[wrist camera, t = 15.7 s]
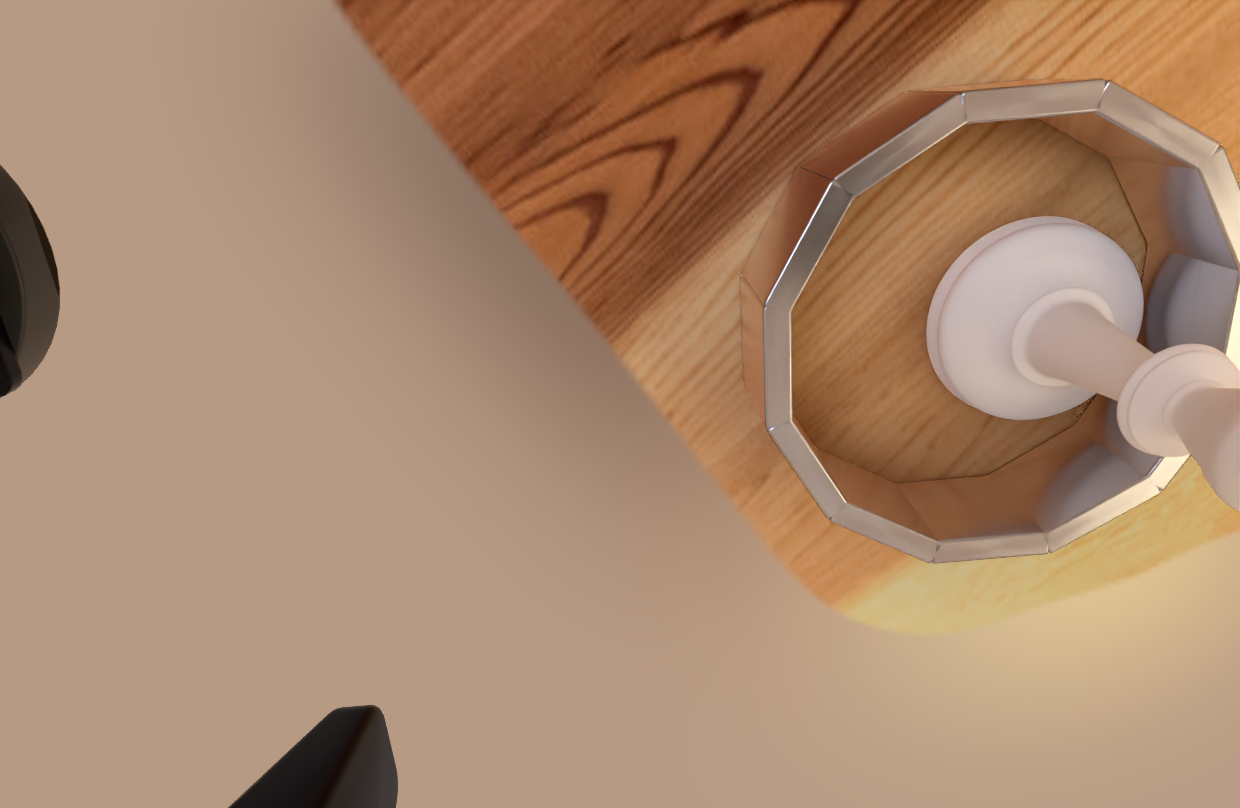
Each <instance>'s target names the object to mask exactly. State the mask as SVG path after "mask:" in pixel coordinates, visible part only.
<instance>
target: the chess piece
mask: <svg viewBox="0 0 1240 808" xmlns="http://www.w3.org/2000/svg"><path fill="white" fill-rule="evenodd" d="M1143 305H1144V301H1143V290H1142V285H1141V281H1140V278H1139V275H1138V272H1137V270H1136V268H1135V266H1134V264H1133V262H1132V260H1131V259H1130V257H1129V256H1128V255H1127V253H1126V252H1125V251H1124V250H1123V249H1122V248H1121V247H1120V246H1119V245H1118V244H1117V243H1116V242H1115V241H1113V240H1112V239H1111V238H1109V237H1108V236H1106V235H1104V234H1103V233H1101V232H1099V231H1098V230H1096V229H1095V228H1093V227H1091V226H1089V225H1087V224H1085V223H1082V222H1080V221H1077V220H1073V219H1069V218H1065V217H1056V216H1039V217H1031V218H1026V219H1021V220H1018V221H1014V222H1011V223H1008V224H1006V225H1003V226H1001V227H999V228H997V229H995V230H993V231H991V232H989V233H988V234H986V235H984V236H983V237H981V238H980V239H978V240H977V241H976V242H974V243H973V244H972V245H971V246H969V247H968V248H967V249H966V250H965V251H964V252H963V253H962V254H961V255H960V256H959V257H958V258H957V259H956V260H955V261H954V263H953V264H952V265H951V266H950V268H949V269H948V270H947V272H946V273H945V275H944V276H943V278H942V280H941V281H940V283H939V285H938V287H937V289H936V291H935V294H934V296H933V299H932V302H931V305H930V309H929V313H928V318H927V326H926V340H927V348H928V353H929V357H930V361H931V363H932V366H933V368H934V370H935V372H936V374H937V376H938V377H939V379H940V380H941V382H942V383H943V384H944V386H945V387H946V388H947V389H948V390H949V391H950V392H951V393H952V394H953V395H954V396H956V397H957V398H958V399H960V400H961V401H963V402H964V403H966V404H968V405H970V406H972V407H974V408H977V409H978V410H980V411H982V412H985V413H987V414H990V415H993V416H996V417H1000V418H1005V419H1012V420H1033V419H1040V418H1045V417H1049V416H1053V415H1056V414H1059V413H1062V412H1065V411H1067V410H1069V409H1072V408H1074V407H1076V406H1078V405H1079V404H1081V403H1083V402H1085V401H1086V400H1088V399H1089V398H1091V397H1092V396H1093V395H1095V394H1096V393H1098V394H1101V395H1103V396H1106V397H1109V398H1111V399H1113V400H1116V401H1118V404H1117V422H1118V425H1119V428H1120V431H1121V433H1122V435H1123V436H1124V438H1125V439H1126V440H1127V441H1128V442H1129V443H1130V444H1131V445H1132V446H1133V447H1135V448H1136V449H1138V450H1140V451H1142V452H1145V453H1148V454H1152V455H1158V456H1162V457H1181V456H1186V455H1190V454H1191V456H1192V457H1193V458H1194V459H1195V460H1196V461H1197V463H1198V464H1199V466H1200V468H1201V470H1202V472H1203V475H1204V477H1205V478H1206V480H1207V481H1208V483H1209V484H1210V486H1211V487H1212V489H1213V490H1214V491H1215V493H1216V494H1217V495H1218V496H1219V497H1220V498H1221V499H1222V500H1223V501H1224V502H1225V503H1226V504H1227V505H1229V506H1230V507H1232V508H1233V509H1235V510H1237V511H1240V372H1239V370H1238V368H1237V367H1236V366H1235V365H1234V363H1232V362H1231V360H1230V359H1229V358H1228V357H1227V356H1226V355H1225V354H1224V353H1222V352H1221V351H1219V350H1218V349H1216V348H1213V347H1211V346H1207V345H1203V344H1181V345H1176V346H1173V347H1170V348H1167V349H1164V350H1162V351H1160V352H1158V353H1156V354H1154V353H1152V352H1151V351H1149V350H1148V349H1146V348H1145V347H1144V346H1142V345H1141V344H1140V343H1138V342H1137V341H1136V340H1137V337H1138V334H1139V331H1140V328H1141V323H1142V318H1143Z"/></svg>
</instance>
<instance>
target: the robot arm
mask: <svg viewBox="0 0 1240 808" xmlns="http://www.w3.org/2000/svg"><path fill="white" fill-rule="evenodd" d="M0 377H1V382H0V397H2V396H5V395H7V394H9V393H11V392H13V391H15V390H16V389H17V388H18V387H20V386H21V383H22V380H23V377H22V371H21V368H20V366H19V363H18V360H17V357H16V355H15V352H14V349H13V346H12V344H11V341H10V338H9V335H8V333H7V330H6V327H5V325H4V322H3V319H2V316H1V313H0ZM397 793H398V778H397V770H396V766H395V761H394V757H393V753H392V748H391V744H390V740H389V736H388V731H387V727H386V723H385V719H384V715H383V714H382V712H381V710H380V709H379V708H378V707H376V706H374V705H366V706H353V707H342V708H338V709H335V710H333V711H332V712H331V713H329V714H328V715H327V716H326V717H325V718H324V719H323V720H322V721H320V722H319V723H318V724H317V725H316V726H315V727H314V728H313V729H312V730H311V731H310V732H309V733H308V734H307V735H306V736H305V737H303V738H302V739H301V740H300V741H299V742H298V743H297V744H296V745H295V746H294V747H293V748H292V749H290V751H288V752H287V753H286V754H285V755H284V756H283V757H282V758H281V759H280V760H279V761H278V762H277V763H275V764H274V765H273V766H272V767H271V768H270V769H269V770H268V771H267V772H266V773H265V774H264V775H263V776H262V777H261V778H260V779H258V780H257V781H256V782H255V783H254V784H253V785H252V786H251V787H250V788H249V789H248V790H246V791H245V792H244V794H242V795H241V796H240V797H239V798H238V799H237V800H236V801H235V802H234V803H233V804H232V805H230V806H229V807H228V808H396V802H397Z"/></svg>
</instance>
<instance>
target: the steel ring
mask: <svg viewBox="0 0 1240 808" xmlns="http://www.w3.org/2000/svg"><path fill="white" fill-rule="evenodd" d="M1031 118H1038V119H1040V120H1041V121H1043V122H1045V123H1047V124H1049V125H1051V126H1052V127H1054V128H1056V129H1058V130H1060V131H1061V132H1063V133H1065V134H1067V135H1069V136H1070V137H1072V138H1074V139H1076V140H1078V141H1080V142H1081V143H1083V144H1085V145H1087V146H1089V147H1090V148H1092V149H1094V150H1096V151H1098V152H1100V153H1101V154H1103V155H1105V156H1107V157H1108V158H1109V160H1110V162H1111V164H1112V166H1113V169H1114V171H1115V173H1116V175H1117V177H1118V180H1119V182H1120V184H1121V186H1122V188H1123V191H1124V193H1125V195H1126V197H1127V200H1128V202H1129V204H1130V206H1131V208H1132V211H1133V213H1134V215H1135V217H1136V219H1137V222H1138V224H1139V226H1140V228H1141V230H1142V233H1143V235H1144V237H1145V239H1146V241H1147V244H1148V246H1147V253H1146V259H1145V266H1144V273H1143V280H1142V290H1143V301H1144V305H1143V318H1142V323H1141V328H1140V331H1139V334H1138V337H1137V340H1136V341H1137V342H1138V343H1140V344H1141V345H1142V346H1144V347H1145V348H1146V349H1148V350H1149V351H1151V352H1152V353H1154V354H1156V353H1158V352H1160V351H1162V350H1164V349H1167V348H1170V347H1173V346H1176V345H1181V344H1203V345H1207V346H1211V347H1213V348H1216V349H1218V350H1219V351H1221V352H1222V353H1224V354H1225V355H1226V356H1227V357H1228V358H1229V359H1230V360H1231V362H1232V363H1234V365H1235V366H1236V367H1237V368H1238V370H1239V372H1240V186H1239V183H1238V181H1237V178H1236V176H1235V173H1234V171H1233V168H1232V166H1231V163H1230V161H1229V158H1228V156H1227V153H1226V151H1225V148H1224V147H1223V146H1220V143H1219V142H1218V141H1217V140H1215V139H1213V138H1211V137H1210V136H1208V135H1206V134H1204V133H1203V132H1201V131H1199V130H1197V129H1196V128H1194V127H1192V126H1190V125H1189V124H1187V123H1185V122H1183V121H1182V120H1180V119H1178V118H1176V117H1175V116H1173V115H1171V114H1169V113H1168V112H1166V111H1164V110H1162V109H1161V108H1159V107H1157V106H1155V105H1154V104H1152V103H1150V102H1148V101H1147V100H1145V99H1143V98H1141V97H1140V96H1138V95H1136V94H1134V93H1133V92H1131V91H1129V90H1127V89H1126V88H1124V87H1122V86H1120V85H1119V84H1117V83H1115V82H1113V81H1112V80H1105V79H1103V78H1087V79H1040V80H1019V81H1008V82H997V83H986V84H975V85H963V86H952V87H941V88H930V89H919V90H909V91H907V93H901V94H900V95H898V96H897V97H895V98H894V99H893V100H891V101H890V102H888V103H887V104H885V105H884V106H882V107H881V108H880V109H878V110H877V111H875V112H874V113H872V114H871V115H869V116H868V117H867V118H865V119H864V120H862V121H861V122H859V123H858V124H856V125H855V126H853V127H852V128H851V129H849V130H848V131H846V132H845V133H843V134H842V135H840V136H839V137H838V138H836V139H835V140H833V141H832V142H830V143H829V144H827V145H826V146H824V147H823V148H822V149H820V150H819V151H817V152H816V153H814V154H813V155H811V156H810V157H809V158H807V159H806V160H804V161H803V162H801V163H800V164H799V167H797V168H796V169H795V170H794V172H793V174H792V176H791V178H790V180H789V182H788V184H787V186H786V188H785V189H784V191H783V193H782V195H781V197H780V199H779V201H778V203H777V205H776V207H775V208H774V210H773V212H772V214H771V216H770V218H769V220H768V222H767V224H766V226H765V227H764V229H763V231H762V233H761V235H760V237H759V239H758V241H757V243H756V245H755V247H754V248H753V250H752V252H751V254H750V256H749V258H748V260H747V262H746V264H745V266H744V267H743V269H742V271H741V274H742V276H741V277H740V294H741V326H742V357H743V381H744V383H745V387H746V389H747V391H748V393H749V395H750V397H751V399H752V402H753V404H754V406H755V408H756V410H757V412H758V414H759V416H760V418H761V420H762V422H763V424H764V426H765V428H766V430H767V432H768V434H769V435H770V437H771V438H772V440H773V441H774V442H775V444H776V445H777V447H778V448H779V450H780V451H781V453H782V454H783V456H784V457H785V459H786V460H787V461H788V463H789V464H790V466H791V467H792V469H793V470H794V472H795V473H796V475H797V476H798V477H799V479H800V480H801V482H802V483H803V485H804V486H805V488H806V489H807V491H808V492H809V493H810V495H811V496H812V498H813V499H814V501H815V502H816V504H817V505H818V507H819V508H820V509H821V511H822V512H823V514H824V515H825V517H826V518H828V519H829V520H830V521H831V522H833V523H835V524H838V525H840V526H842V527H845V528H847V529H849V530H852V531H854V532H856V533H859V534H861V535H864V536H866V537H868V538H871V539H873V540H875V541H878V542H880V543H882V544H885V545H887V546H889V547H892V548H894V549H897V550H899V551H901V552H904V553H906V554H908V555H911V556H913V557H915V558H918V559H920V560H922V561H925V562H927V563H931V562H932V563H945V562H957V561H969V560H981V559H993V558H1004V557H1016V556H1028V555H1040V554H1047V553H1048V552H1050V553H1053V552H1054V551H1056V550H1058V549H1060V548H1062V547H1064V546H1065V545H1067V544H1069V543H1071V542H1073V541H1075V540H1076V539H1078V538H1080V537H1082V536H1084V535H1085V534H1087V533H1089V532H1091V531H1093V530H1095V529H1096V528H1098V527H1100V526H1102V525H1104V524H1106V523H1107V522H1109V521H1111V520H1113V519H1115V518H1117V517H1118V516H1120V515H1122V514H1124V513H1126V512H1127V511H1129V510H1131V509H1133V508H1135V507H1137V506H1138V505H1140V504H1142V503H1144V502H1146V501H1148V500H1149V499H1151V498H1153V497H1155V496H1157V495H1159V494H1160V490H1164V489H1165V487H1166V486H1167V485H1168V484H1169V482H1170V481H1171V480H1172V479H1173V477H1174V476H1175V475H1176V473H1177V472H1178V471H1179V470H1180V468H1181V467H1182V466H1183V464H1184V463H1185V462H1186V461H1187V459H1188V458H1189V457H1190V456H1191V454H1190V455H1186V456H1181V457H1162V456H1158V455H1152V454H1148V453H1145V452H1142V451H1140V450H1138V449H1136V448H1135V447H1133V446H1132V445H1131V444H1130V443H1129V442H1128V441H1127V440H1126V439H1125V438H1124V436H1123V435H1122V433H1121V431H1120V428H1119V425H1118V422H1117V404H1118V401H1116V400H1113V399H1111V398H1109V397H1106V396H1103V395H1101V394H1098V393H1097V395H1096V396H1095V397H1094V399H1093V400H1092V402H1091V403H1090V404H1089V406H1088V407H1087V409H1086V410H1085V411H1084V413H1083V414H1082V416H1081V417H1080V418H1079V420H1078V421H1077V423H1076V424H1075V425H1074V426H1072V427H1071V428H1069V429H1067V430H1065V431H1064V432H1062V433H1060V434H1058V435H1057V436H1055V437H1053V438H1052V439H1050V440H1048V441H1046V442H1045V443H1043V444H1041V445H1039V446H1038V447H1036V448H1034V449H1032V450H1031V451H1029V452H1027V453H1026V454H1024V455H1022V456H1020V457H1019V458H1017V459H1015V460H1013V461H1012V462H1010V463H1008V464H1006V465H1005V466H1003V467H1001V468H1000V469H998V470H996V471H994V472H993V473H991V474H989V475H987V476H977V477H965V478H953V479H942V480H930V481H918V482H906V483H894V482H892V481H889V480H887V479H885V478H883V477H880V476H878V475H876V474H874V473H871V472H869V471H867V470H865V469H862V468H860V467H858V466H855V465H853V464H851V463H849V462H846V461H844V460H842V459H840V458H837V457H835V456H833V455H830V454H828V453H826V452H824V451H821V450H819V449H817V448H816V447H815V446H814V444H813V443H812V441H811V440H810V439H809V437H808V436H807V434H806V433H805V431H804V430H803V428H802V427H801V425H800V424H799V422H798V421H797V419H796V418H795V416H794V415H793V384H792V309H793V307H794V305H795V304H796V302H797V300H798V298H799V297H800V295H801V293H802V291H803V289H804V288H805V286H806V284H807V282H808V280H809V279H810V277H811V275H812V273H813V271H814V270H815V268H816V266H817V264H818V262H819V261H820V259H821V257H822V255H823V253H824V252H825V250H826V248H827V246H828V244H829V243H830V241H831V239H832V237H833V235H834V234H835V232H836V230H837V228H838V226H839V225H840V223H841V221H842V219H843V217H844V216H845V214H846V212H847V210H848V208H849V207H850V205H851V203H852V201H853V200H854V199H855V198H857V197H858V196H859V195H861V194H862V193H864V192H865V191H867V190H868V189H870V188H871V187H873V186H874V185H876V184H877V183H879V182H880V181H882V180H883V179H885V178H886V177H888V176H889V175H891V174H892V173H894V172H895V171H897V170H898V169H900V168H901V167H903V166H904V165H906V164H907V163H909V162H910V161H912V160H913V159H915V158H916V157H918V156H919V155H921V154H922V153H924V152H925V151H927V150H928V149H930V148H931V147H933V146H934V145H936V144H937V143H939V142H940V141H942V140H943V139H945V138H946V137H947V136H949V135H950V134H952V133H953V132H955V131H956V130H958V129H959V128H961V127H962V126H964V125H965V124H975V123H986V122H997V121H1008V120H1020V119H1031Z"/></svg>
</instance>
